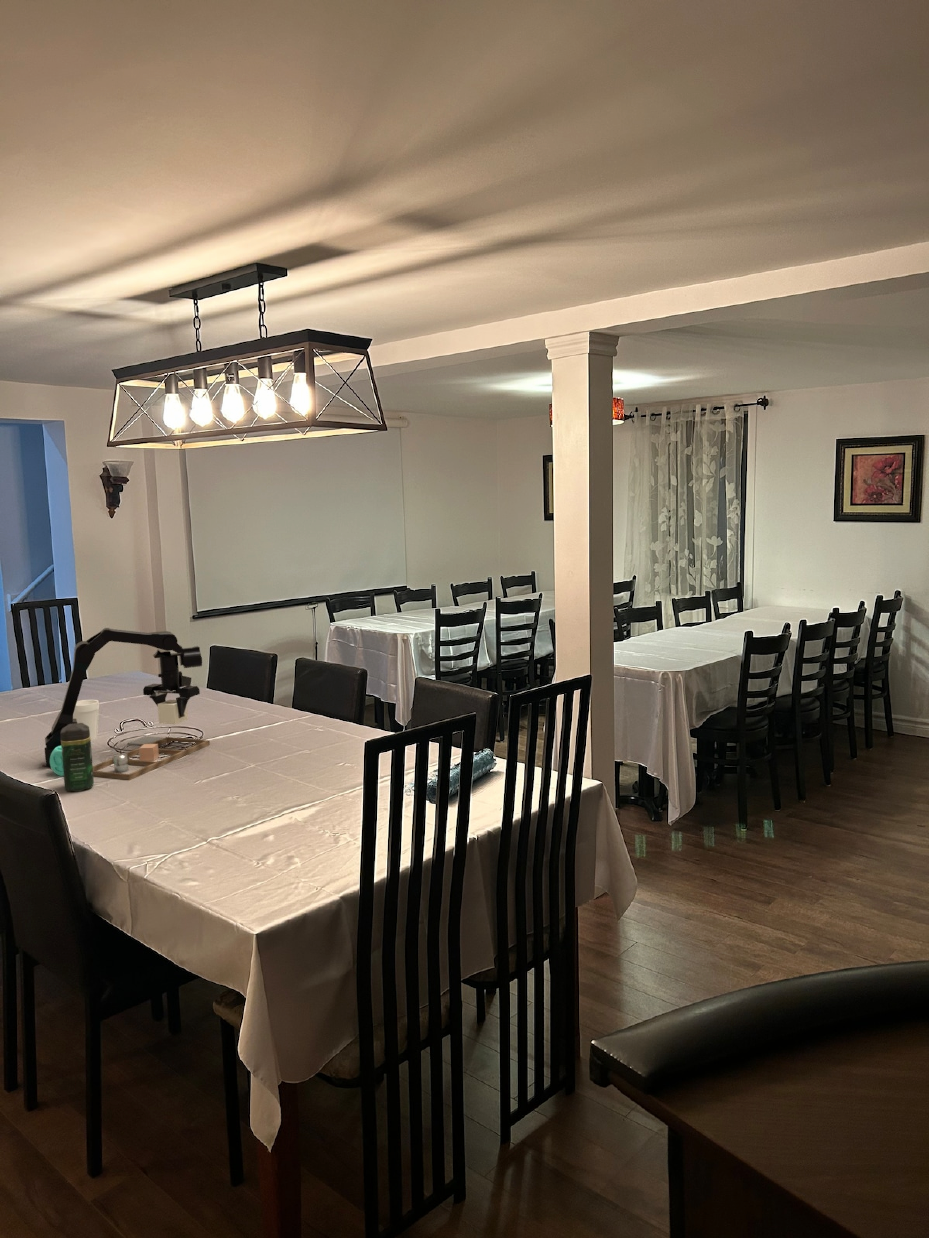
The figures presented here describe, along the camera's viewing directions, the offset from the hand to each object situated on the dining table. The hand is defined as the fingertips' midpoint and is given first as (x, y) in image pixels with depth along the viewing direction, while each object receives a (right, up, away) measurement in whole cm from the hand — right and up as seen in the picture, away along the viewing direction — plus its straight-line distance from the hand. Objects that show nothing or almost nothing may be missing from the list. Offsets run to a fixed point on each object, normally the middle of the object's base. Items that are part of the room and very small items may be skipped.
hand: (173, 715), depth 299 cm
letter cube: (0, -2, 0) cm, 2 cm away
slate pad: (-12, -10, +11) cm, 19 cm away
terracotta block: (-4, -13, -10) cm, 17 cm away
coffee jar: (-15, -17, -37) cm, 43 cm away
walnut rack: (-4, -13, -10) cm, 17 cm away
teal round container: (-25, -15, -22) cm, 36 cm away
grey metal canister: (-9, -15, -22) cm, 28 cm away
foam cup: (-36, -10, +17) cm, 41 cm away
